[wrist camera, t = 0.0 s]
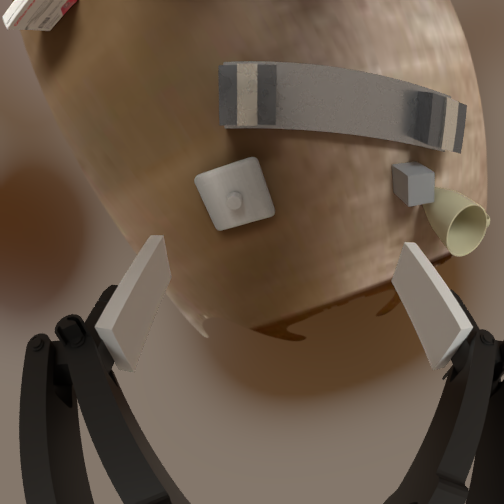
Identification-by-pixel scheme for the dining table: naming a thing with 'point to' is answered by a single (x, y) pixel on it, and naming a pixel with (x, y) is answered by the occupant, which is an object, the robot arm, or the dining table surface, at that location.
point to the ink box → (35, 14)
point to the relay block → (413, 183)
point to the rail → (337, 103)
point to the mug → (456, 220)
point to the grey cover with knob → (235, 194)
